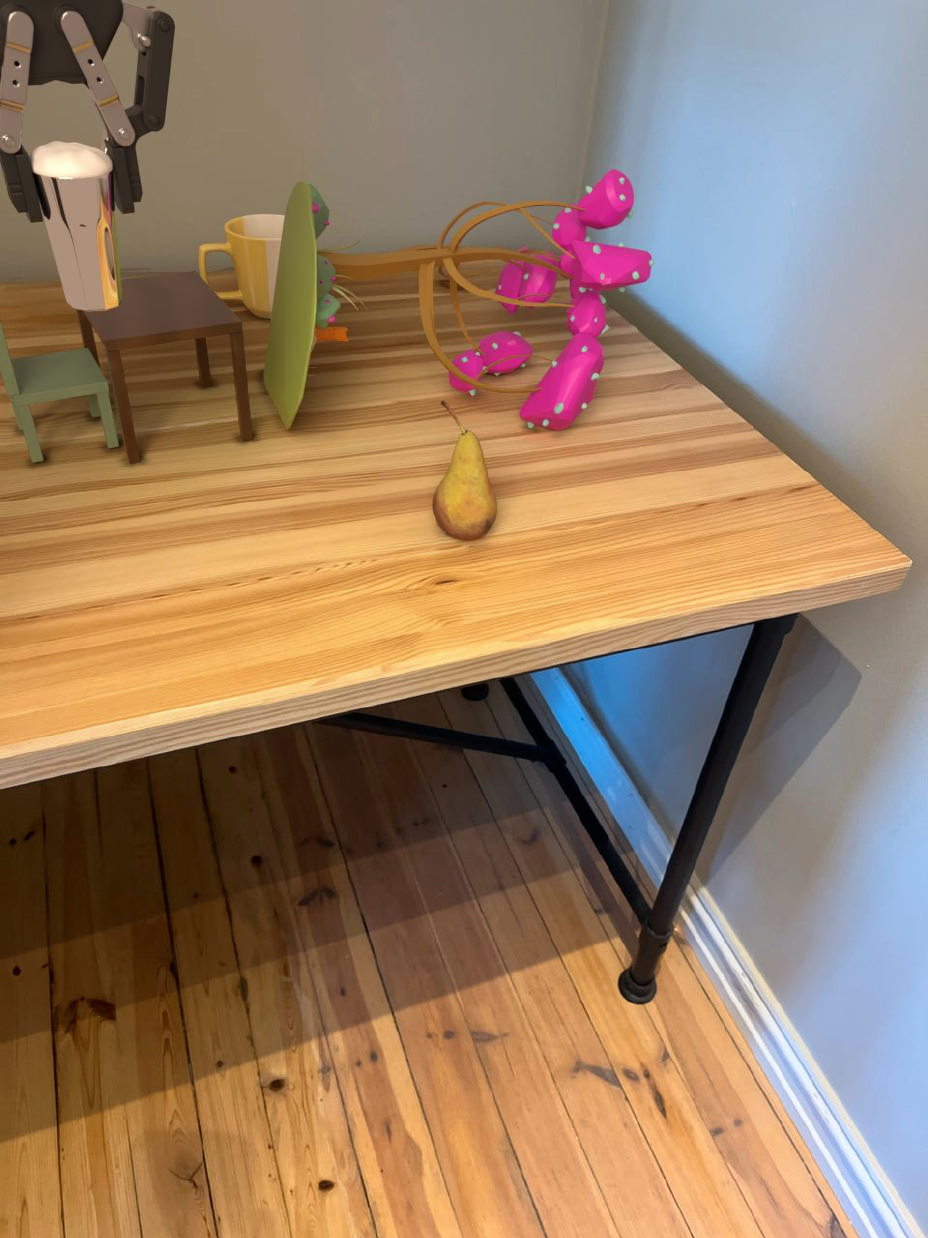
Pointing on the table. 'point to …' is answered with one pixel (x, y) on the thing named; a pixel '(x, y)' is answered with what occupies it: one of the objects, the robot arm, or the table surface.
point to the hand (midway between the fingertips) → (80, 212)
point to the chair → (55, 388)
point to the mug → (250, 259)
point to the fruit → (465, 491)
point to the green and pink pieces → (521, 282)
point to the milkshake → (80, 220)
